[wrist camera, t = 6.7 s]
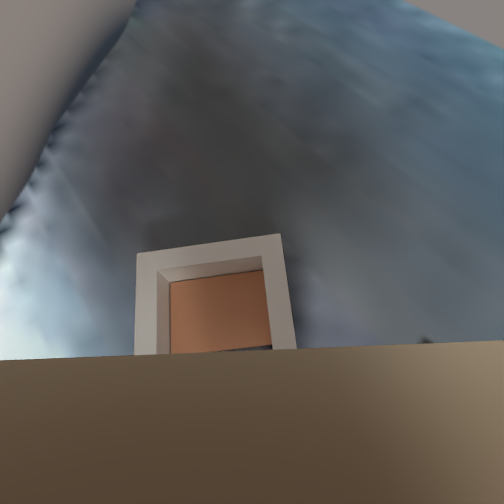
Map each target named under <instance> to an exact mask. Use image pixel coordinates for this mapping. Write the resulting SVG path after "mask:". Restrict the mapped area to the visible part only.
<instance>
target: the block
mask: <svg viewBox="0 0 504 504" xmlns="http://www.w3.org/2000/svg"><path fill="white" fill-rule="evenodd" d="M0 504H504V341H479V342H454V343H429V344H404V345H379V346H353V347H328V348H303V349H278V350H253V351H228V352H203V353H178V354H153V355H128V356H102V357H77V358H52V359H27V360H2V361H0Z"/></svg>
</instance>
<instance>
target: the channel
mask: <svg viewBox="0 0 504 504" xmlns="http://www.w3.org/2000/svg"><path fill="white" fill-rule="evenodd" d="M266 345H272V348H273V350H278V349H297V346H296V339H295V332H294V325H293V318H292V311H291V304H290V297H289V290H288V283H287V276H286V269H285V263H284V256H283V249H282V242H281V235H280V233H278V234H271V235H264V236H257V237H249V238H242V239H235V240H228V241H221V242H214V243H207V244H200V245H193V246H186V247H179V248H172V249H165V250H158V251H151V252H143V253H137V267H136V303H135V340H134V355H153V354H178V353H203V352H217V351H225V350H233V349H242V348H250V347H258V346H266Z"/></svg>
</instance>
